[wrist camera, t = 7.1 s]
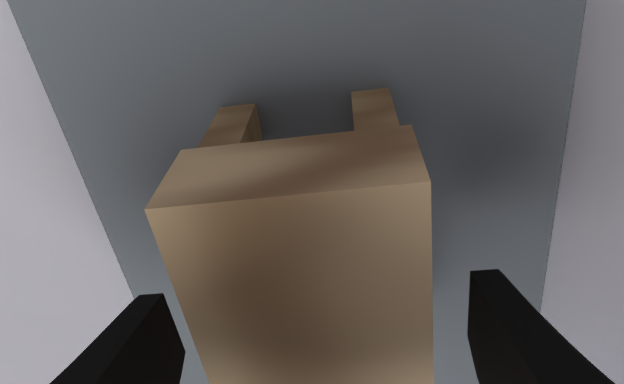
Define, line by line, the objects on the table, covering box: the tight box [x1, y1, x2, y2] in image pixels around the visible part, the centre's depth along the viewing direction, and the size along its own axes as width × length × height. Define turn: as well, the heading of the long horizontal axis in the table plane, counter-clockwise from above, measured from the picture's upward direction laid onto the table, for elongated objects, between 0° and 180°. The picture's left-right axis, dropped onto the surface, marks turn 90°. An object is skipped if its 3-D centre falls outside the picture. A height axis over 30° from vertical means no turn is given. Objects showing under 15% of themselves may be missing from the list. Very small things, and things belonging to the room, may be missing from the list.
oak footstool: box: [144, 87, 434, 384], centre depth 13 cm, size 5×8×5 cm, turn 8°
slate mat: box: [7, 0, 586, 384], centre depth 15 cm, size 18×14×1 cm
